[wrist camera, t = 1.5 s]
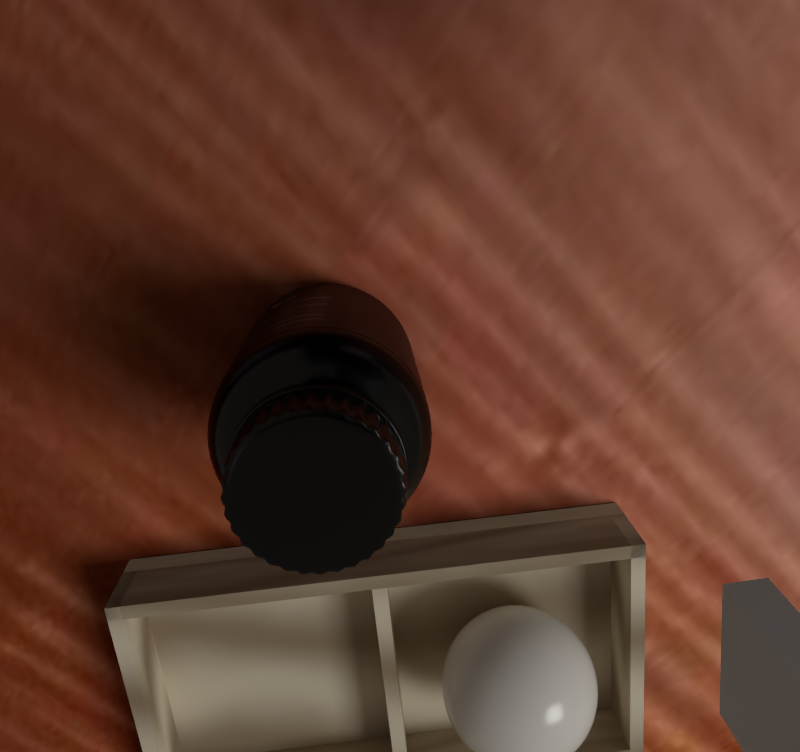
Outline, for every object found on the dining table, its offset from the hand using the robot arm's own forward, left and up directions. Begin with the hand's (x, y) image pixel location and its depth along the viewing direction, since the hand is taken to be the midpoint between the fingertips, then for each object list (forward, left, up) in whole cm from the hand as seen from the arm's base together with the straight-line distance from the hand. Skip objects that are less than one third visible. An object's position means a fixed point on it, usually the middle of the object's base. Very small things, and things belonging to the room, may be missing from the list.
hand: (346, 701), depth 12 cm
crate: (+19, 0, -19) cm, 26 cm away
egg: (+13, +5, -18) cm, 23 cm away
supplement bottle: (0, -1, -19) cm, 19 cm away
